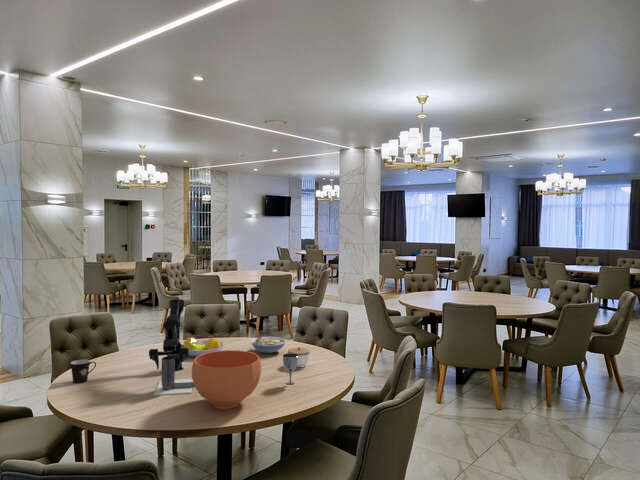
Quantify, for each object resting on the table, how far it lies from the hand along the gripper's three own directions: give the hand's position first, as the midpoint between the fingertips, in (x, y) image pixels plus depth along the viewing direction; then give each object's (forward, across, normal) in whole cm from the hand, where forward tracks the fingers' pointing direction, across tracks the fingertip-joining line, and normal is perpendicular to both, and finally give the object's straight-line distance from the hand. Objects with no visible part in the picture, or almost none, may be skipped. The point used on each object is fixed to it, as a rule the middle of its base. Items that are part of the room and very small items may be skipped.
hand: (167, 369), depth 220 cm
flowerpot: (+23, +28, -8) cm, 37 cm away
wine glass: (+8, +60, +7) cm, 61 cm away
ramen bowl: (-37, +54, +52) cm, 84 cm away
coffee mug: (-8, -44, +23) cm, 50 cm away
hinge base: (+4, +4, +11) cm, 12 cm away
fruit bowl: (-37, +13, +53) cm, 66 cm away
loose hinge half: (+6, 0, +5) cm, 8 cm away
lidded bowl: (-14, +69, +29) cm, 76 cm away
